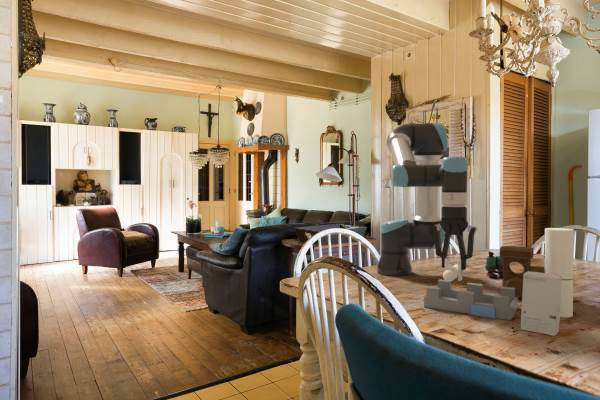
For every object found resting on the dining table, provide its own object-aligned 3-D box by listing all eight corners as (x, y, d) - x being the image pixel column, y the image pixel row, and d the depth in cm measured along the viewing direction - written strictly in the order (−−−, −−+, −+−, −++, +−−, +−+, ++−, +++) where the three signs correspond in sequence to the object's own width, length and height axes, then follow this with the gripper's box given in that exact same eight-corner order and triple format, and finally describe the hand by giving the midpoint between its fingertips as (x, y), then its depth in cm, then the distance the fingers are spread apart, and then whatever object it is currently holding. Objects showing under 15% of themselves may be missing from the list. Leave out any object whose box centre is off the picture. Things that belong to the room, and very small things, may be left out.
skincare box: (520, 330, 109) (520, 273, 109) (525, 324, 114) (526, 270, 113) (557, 337, 104) (558, 277, 103) (561, 330, 108) (562, 273, 108)
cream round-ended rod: (441, 282, 128) (441, 270, 128) (453, 273, 140) (453, 263, 139) (453, 283, 126) (453, 271, 126) (464, 274, 138) (464, 263, 138)
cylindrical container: (568, 311, 125) (569, 228, 124) (576, 318, 118) (576, 230, 117) (541, 309, 127) (542, 227, 126) (547, 316, 120) (548, 230, 120)
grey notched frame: (423, 307, 130) (423, 287, 130) (437, 296, 143) (437, 279, 142) (510, 320, 116) (510, 299, 116) (517, 307, 129) (517, 288, 129)
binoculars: (492, 256, 166) (483, 250, 176) (491, 281, 168) (482, 274, 178) (515, 256, 166) (505, 250, 175) (514, 282, 167) (504, 274, 177)
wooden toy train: (498, 297, 142) (498, 248, 141) (502, 290, 151) (502, 244, 151) (568, 305, 131) (569, 253, 130) (568, 297, 141) (568, 248, 140)
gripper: (424, 205, 133) (424, 278, 134) (479, 207, 124) (478, 285, 125) (431, 204, 139) (431, 273, 141) (484, 205, 130) (483, 279, 131)
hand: (453, 278), depth 133 cm, fingers closed on cream round-ended rod, 3 cm apart
